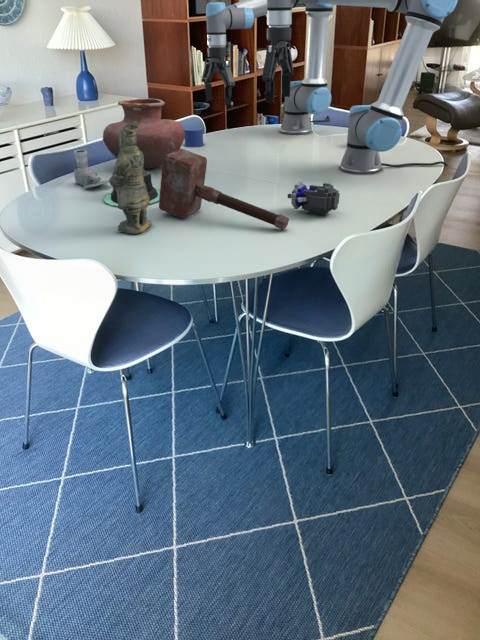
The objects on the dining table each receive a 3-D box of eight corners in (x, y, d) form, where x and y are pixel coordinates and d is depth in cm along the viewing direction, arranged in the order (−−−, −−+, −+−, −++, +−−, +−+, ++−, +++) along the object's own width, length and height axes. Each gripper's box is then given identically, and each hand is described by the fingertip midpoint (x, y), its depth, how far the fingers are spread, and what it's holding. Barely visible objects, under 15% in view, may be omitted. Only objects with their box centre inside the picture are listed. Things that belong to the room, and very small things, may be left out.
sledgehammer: (299, 190, 156) (179, 147, 167) (285, 200, 148) (161, 154, 160) (286, 244, 166) (174, 200, 177) (272, 256, 158) (156, 209, 170)
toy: (295, 178, 172) (342, 184, 166) (295, 205, 177) (340, 211, 171) (285, 186, 166) (333, 192, 160) (284, 213, 170) (331, 220, 164)
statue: (131, 220, 168) (117, 116, 152) (158, 224, 164) (147, 118, 149) (109, 233, 159) (93, 124, 144) (138, 237, 156) (124, 126, 140)
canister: (182, 144, 253) (180, 128, 249) (198, 142, 256) (197, 126, 253) (189, 148, 247) (188, 131, 243) (206, 145, 250) (205, 129, 246)
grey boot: (85, 147, 201) (110, 154, 192) (90, 179, 207) (114, 187, 198) (64, 151, 195) (89, 159, 186) (70, 184, 201) (94, 193, 193)
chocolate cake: (91, 202, 180) (113, 186, 197) (142, 231, 182) (160, 212, 199) (107, 162, 172) (129, 148, 190) (160, 192, 174) (177, 176, 192)
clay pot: (194, 158, 230) (190, 94, 217) (174, 179, 204) (168, 107, 192) (124, 156, 235) (116, 93, 222) (96, 176, 209) (85, 106, 197)
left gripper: (191, 45, 229) (194, 100, 239) (228, 48, 212) (229, 107, 222) (206, 44, 233) (208, 98, 243) (243, 47, 216) (243, 105, 226)
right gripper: (283, 24, 182) (282, 93, 193) (250, 28, 163) (251, 105, 173) (304, 24, 179) (302, 94, 190) (274, 28, 160) (273, 106, 170)
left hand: (218, 102), depth 233 cm, fingers open, 13 cm apart
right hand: (278, 99), depth 181 cm, fingers open, 13 cm apart
